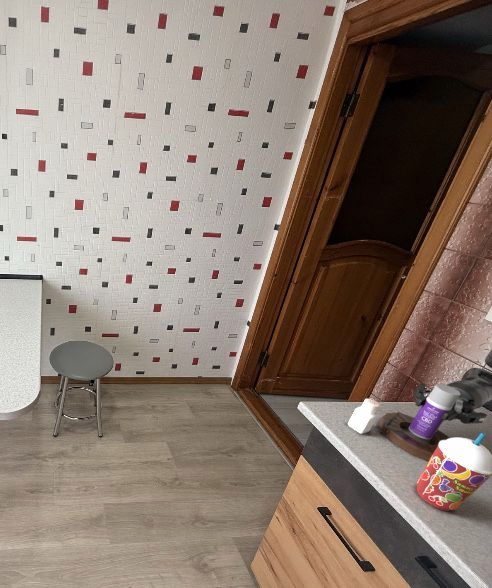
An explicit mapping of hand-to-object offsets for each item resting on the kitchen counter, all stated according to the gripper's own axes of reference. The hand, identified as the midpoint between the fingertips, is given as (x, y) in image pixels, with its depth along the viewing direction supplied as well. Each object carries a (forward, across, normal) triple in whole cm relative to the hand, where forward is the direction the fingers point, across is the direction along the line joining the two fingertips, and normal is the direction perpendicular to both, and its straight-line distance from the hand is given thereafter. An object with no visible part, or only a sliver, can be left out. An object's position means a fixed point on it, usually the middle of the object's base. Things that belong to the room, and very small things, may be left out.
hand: (431, 409), depth 86 cm
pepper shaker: (+9, -8, +12) cm, 17 cm away
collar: (-3, 0, +12) cm, 12 cm away
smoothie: (+16, +11, +12) cm, 23 cm away
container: (-3, 0, +9) cm, 10 cm away
